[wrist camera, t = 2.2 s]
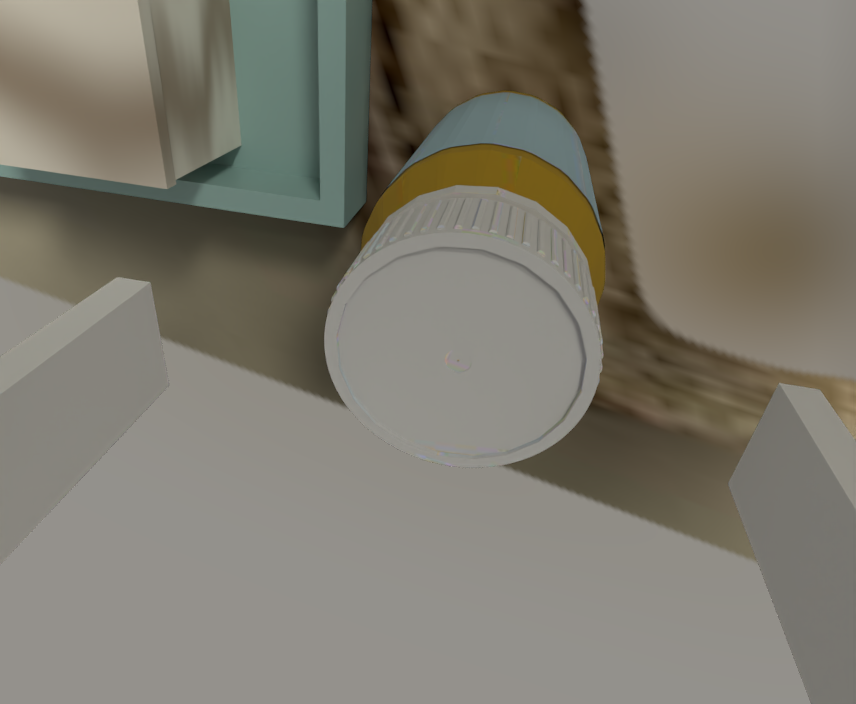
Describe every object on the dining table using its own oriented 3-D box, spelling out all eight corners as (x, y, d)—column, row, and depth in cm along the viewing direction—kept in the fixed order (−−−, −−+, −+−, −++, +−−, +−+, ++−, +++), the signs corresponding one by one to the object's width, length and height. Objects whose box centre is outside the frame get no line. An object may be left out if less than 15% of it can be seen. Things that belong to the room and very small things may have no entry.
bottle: (391, 170, 26) (245, 344, 14) (511, 47, 23) (464, 126, 10) (495, 279, 28) (452, 520, 15) (620, 181, 25) (695, 386, 12)
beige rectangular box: (57, -38, 23) (-85, -43, 18) (230, -19, 22) (134, -19, 17) (92, 127, 26) (-18, 161, 21) (243, 147, 26) (167, 189, 21)
